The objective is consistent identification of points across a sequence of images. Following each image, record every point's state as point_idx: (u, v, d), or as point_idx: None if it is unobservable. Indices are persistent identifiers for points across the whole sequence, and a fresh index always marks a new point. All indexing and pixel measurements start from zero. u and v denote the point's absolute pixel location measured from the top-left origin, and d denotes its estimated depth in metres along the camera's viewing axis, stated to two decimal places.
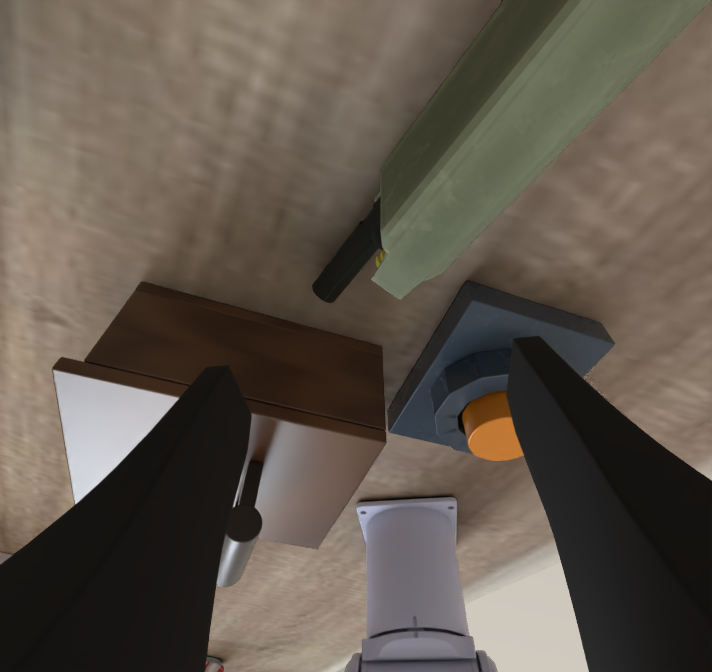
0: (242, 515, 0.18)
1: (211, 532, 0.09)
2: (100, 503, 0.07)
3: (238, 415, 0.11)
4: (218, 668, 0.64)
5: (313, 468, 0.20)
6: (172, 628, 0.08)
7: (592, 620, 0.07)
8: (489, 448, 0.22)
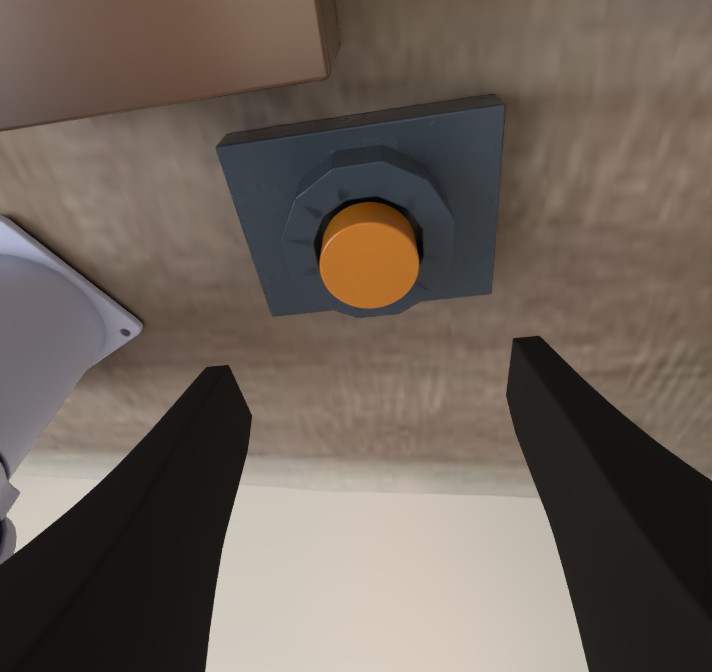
0: None
1: (212, 532, 0.10)
2: (100, 503, 0.07)
3: (238, 415, 0.11)
4: None
5: None
6: (172, 628, 0.08)
7: (592, 620, 0.07)
8: (345, 262, 0.15)
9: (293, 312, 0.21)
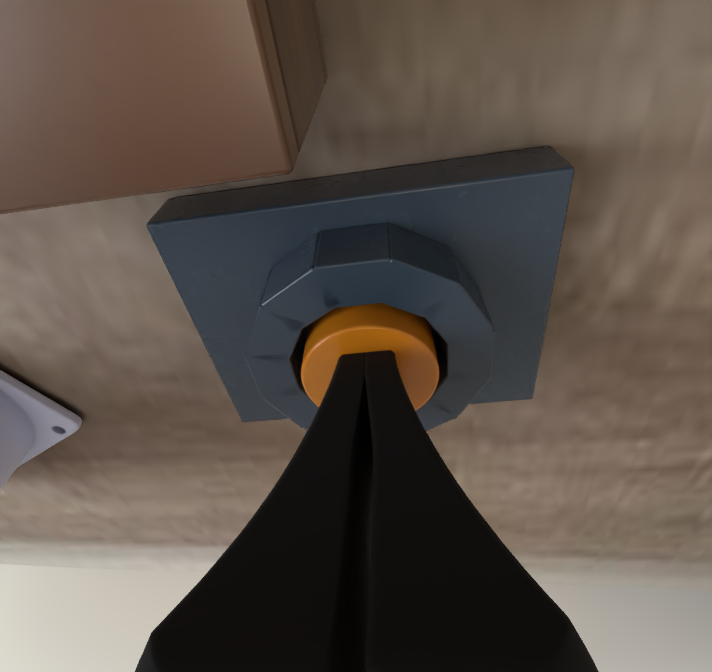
0: None
1: (368, 524, 0.09)
2: (301, 492, 0.07)
3: None
4: None
5: None
6: (365, 623, 0.07)
7: None
8: None
9: (270, 418, 0.16)
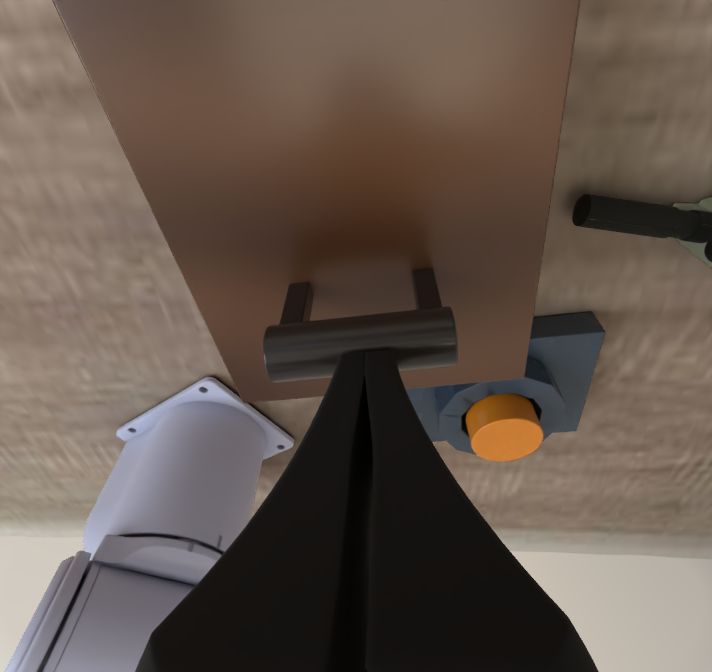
0: None
1: (368, 524, 0.09)
2: (301, 492, 0.07)
3: None
4: None
5: None
6: (365, 623, 0.07)
7: None
8: (491, 438, 0.22)
9: None
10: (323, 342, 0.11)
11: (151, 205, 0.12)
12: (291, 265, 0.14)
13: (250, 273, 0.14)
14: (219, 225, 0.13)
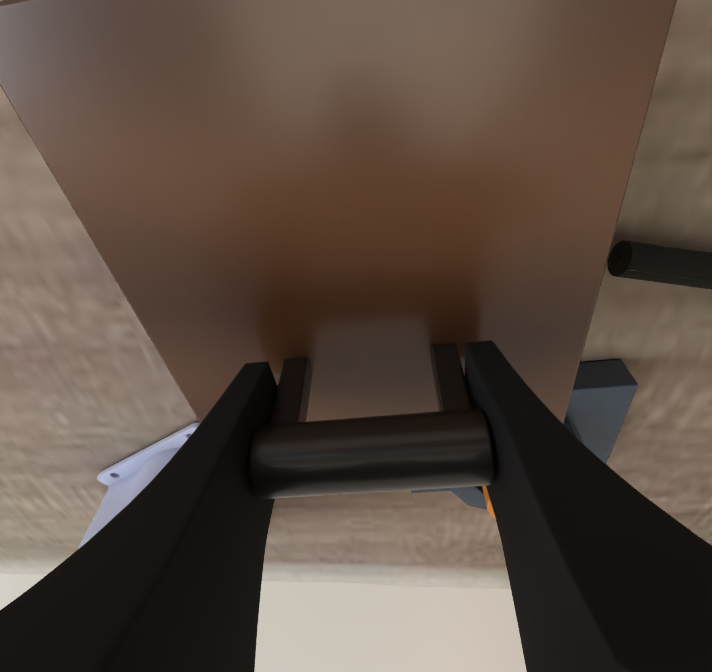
0: None
1: (256, 530, 0.09)
2: (157, 500, 0.07)
3: None
4: None
5: None
6: (227, 626, 0.08)
7: (527, 622, 0.08)
8: None
9: (430, 491, 0.25)
10: (324, 458, 0.09)
11: (114, 274, 0.10)
12: (286, 339, 0.11)
13: (237, 347, 0.11)
14: (198, 296, 0.10)
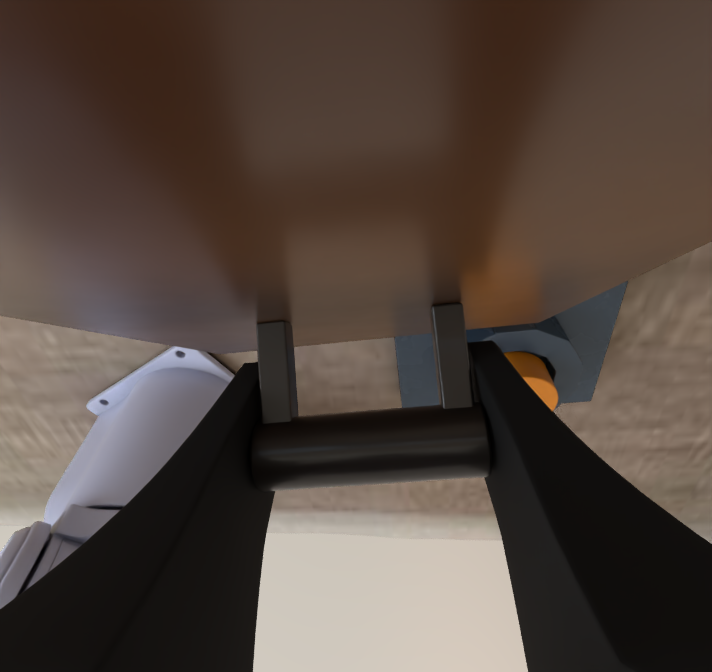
0: None
1: (255, 530, 0.09)
2: (156, 500, 0.07)
3: None
4: None
5: None
6: (225, 627, 0.08)
7: (528, 622, 0.08)
8: None
9: None
10: (328, 476, 0.09)
11: None
12: (256, 317, 0.09)
13: (197, 324, 0.09)
14: (130, 313, 0.08)
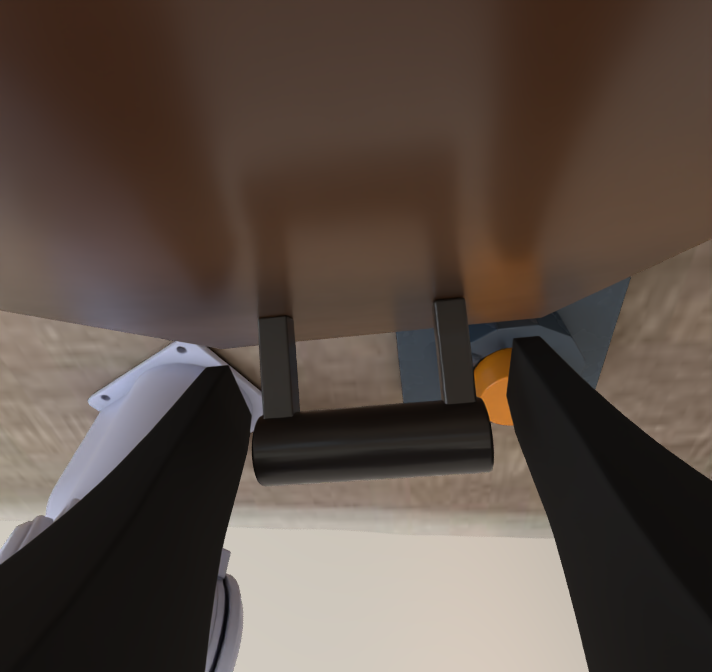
0: None
1: (211, 532, 0.09)
2: (100, 503, 0.07)
3: (238, 415, 0.11)
4: None
5: None
6: (172, 628, 0.08)
7: (592, 620, 0.07)
8: (501, 397, 0.19)
9: None
10: (330, 471, 0.09)
11: None
12: (258, 312, 0.09)
13: (198, 319, 0.09)
14: (131, 308, 0.08)
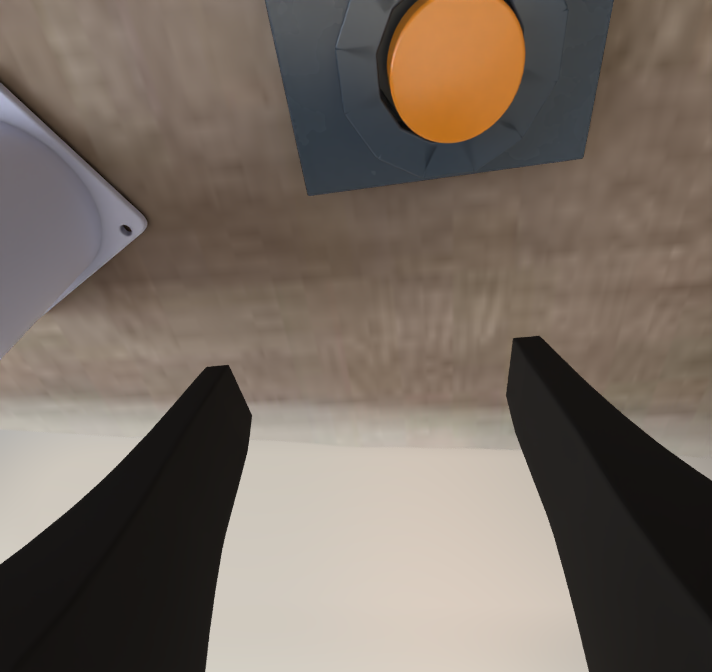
0: None
1: (211, 532, 0.09)
2: (100, 503, 0.07)
3: (238, 415, 0.11)
4: None
5: None
6: (172, 628, 0.08)
7: (592, 620, 0.07)
8: (425, 61, 0.11)
9: (335, 189, 0.17)
10: None
11: None
12: None
13: None
14: None
